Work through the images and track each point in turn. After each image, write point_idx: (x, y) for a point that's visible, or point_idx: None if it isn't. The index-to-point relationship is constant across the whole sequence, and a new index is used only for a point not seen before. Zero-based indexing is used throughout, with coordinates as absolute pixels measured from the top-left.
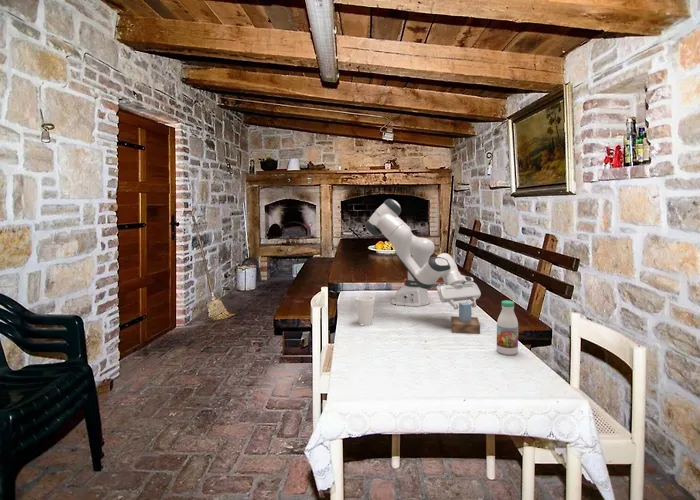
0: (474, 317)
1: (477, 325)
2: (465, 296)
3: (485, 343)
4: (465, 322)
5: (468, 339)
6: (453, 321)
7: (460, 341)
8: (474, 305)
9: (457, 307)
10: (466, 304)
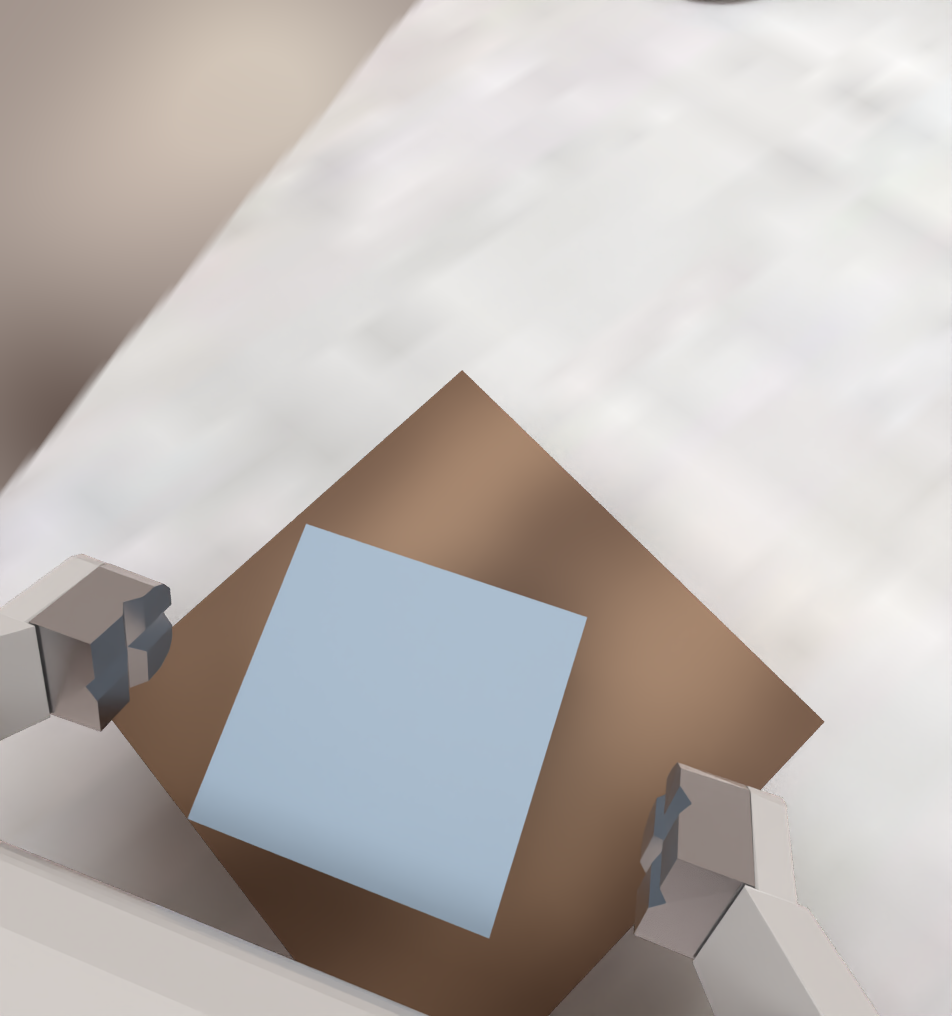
0: (142, 724)
1: (491, 401)
2: (106, 899)
3: (709, 173)
4: None
5: (779, 376)
6: None
7: (931, 388)
8: (141, 577)
9: (713, 776)
10: (446, 612)
